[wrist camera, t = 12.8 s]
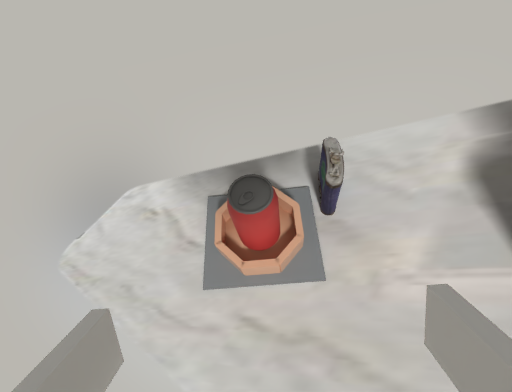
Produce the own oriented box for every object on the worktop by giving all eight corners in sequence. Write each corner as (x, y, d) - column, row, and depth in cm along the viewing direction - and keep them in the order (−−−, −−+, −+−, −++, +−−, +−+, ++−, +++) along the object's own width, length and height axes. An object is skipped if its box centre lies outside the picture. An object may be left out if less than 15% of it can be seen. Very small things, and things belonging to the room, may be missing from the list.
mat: (308, 187, 46) (308, 186, 46) (325, 280, 38) (325, 279, 38) (208, 197, 48) (207, 196, 47) (203, 289, 39) (203, 289, 39)
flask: (317, 170, 48) (323, 127, 39) (333, 170, 48) (344, 127, 38) (319, 216, 43) (327, 179, 34) (338, 216, 43) (351, 179, 34)
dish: (295, 195, 45) (295, 183, 42) (306, 270, 39) (308, 263, 35) (221, 202, 46) (216, 191, 43) (219, 277, 40) (213, 271, 36)
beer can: (230, 232, 42) (212, 194, 32) (260, 206, 44) (251, 161, 34) (259, 261, 39) (249, 228, 29) (289, 231, 41) (289, 191, 31)
